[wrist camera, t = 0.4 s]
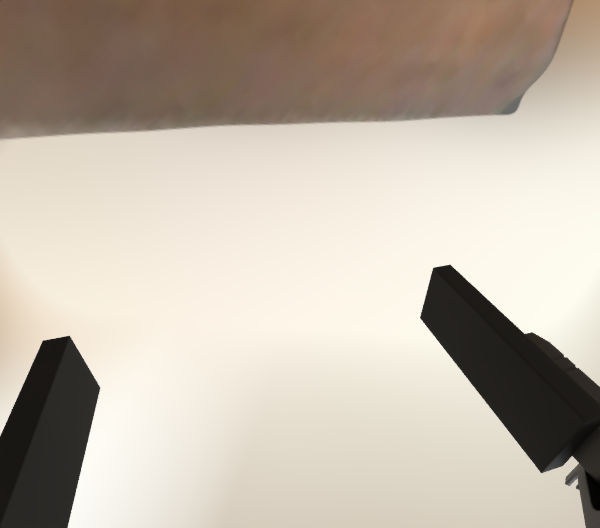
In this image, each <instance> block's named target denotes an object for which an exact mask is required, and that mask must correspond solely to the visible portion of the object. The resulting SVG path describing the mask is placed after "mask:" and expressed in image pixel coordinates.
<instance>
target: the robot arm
mask: <svg viewBox="0 0 600 528" xmlns="http://www.w3.org/2000/svg"><path fill="white" fill-rule="evenodd" d="M420 318H421V320H422V321H423V322H424V323H425V325H426V326H427V327H428V328H429V330H430V331H431V332H432V333H433V335H434V336H435V337H436V339H437V340H438V341H439V343H440V344H441V345H442V346H443V348H444V349H445V350H446V352H447V353H448V354H449V355H450V357H451V358H452V359H453V361H454V362H455V363H456V364H457V366H458V367H459V368H460V369H461V370H462V372H463V373H464V375H465V376H466V377H467V378H468V380H469V381H470V382H471V384H472V385H473V386H474V387H475V388H476V390H477V391H478V392H479V394H480V395H481V396H482V398H483V399H484V400H485V401H486V403H487V404H488V405H489V406H490V408H491V409H492V410H493V412H494V413H495V414H496V415H497V417H498V418H499V419H500V421H501V422H502V423H503V424H504V426H505V427H506V428H507V430H508V431H509V432H510V433H511V435H512V436H513V437H514V439H515V440H516V441H517V442H518V444H519V445H520V446H521V448H522V449H523V450H524V451H525V452H526V454H527V455H528V456H529V458H530V459H531V460H532V461H533V463H534V464H535V465H536V467H537V468H538V469H539V471H540V472H541V473H543V472H546V471H549V470H552V469H555V468H558V467H561V466H563V465H564V464H565V463H566V462H567V461H568V460H569V458H570V457H571V456H573V457H574V458H575V459H576V460H577V461H578V462H579V464H578V465H577V466H576V467H575V468H574V469H573V470H572V471H571V473H570V474H569V475H568V476H567V477H566V482H565V484H566V485H568V486H570V485H571V484H572V483H573V482H574V481H575V480H576V479H577V478H578V485H577V486H576V489H579V490H580V495H581V501H582V507H583V513H584V518H585V525H586V528H600V387H599V386H598V385H597V384H596V383H594V381H592V380H591V379H590V378H589V377H588V376H587V375H586V374H585V373H583V372H582V371H581V370H580V369H579V368H576V367H575V365H574V364H573V363H572V362H571V361H570V360H569V359H568V358H565V357H564V355H563V354H562V353H561V352H560V351H559V350H558V349H556V348H555V347H554V346H553V345H552V344H551V343H550V342H548V341H546V340H545V339H543V338H541V337H539V336H538V335H536V334H534V333H528V334H524V333H523V332H522V331H521V330H520V329H518V327H516V326H515V325H514V324H513V323H512V322H511V321H510V320H509V319H508V318H507V317H506V316H504V314H502V313H501V312H500V311H499V310H498V309H497V308H496V307H495V306H494V305H493V304H492V303H491V302H490V301H489V300H487V299H486V298H485V297H484V296H483V295H482V294H481V293H480V292H479V291H478V290H477V289H476V288H475V287H474V286H472V285H471V284H470V283H469V282H468V281H467V280H466V279H465V278H464V277H463V276H462V275H461V274H460V273H459V272H457V271H456V270H455V269H454V268H453V267H452V266H451V265H446V266H441V267H436V268H433V271H432V275H431V279H430V283H429V286H428V290H427V294H426V298H425V301H424V305H423V309H422V313H421V317H420ZM99 390H100V387H99V385H98V383H97V381H96V380H95V378H94V376H93V375H92V373H91V371H90V370H89V368H88V366H87V365H86V363H85V361H84V359H83V358H82V356H81V354H80V353H79V351H78V349H77V348H76V346H75V344H74V343H73V341H72V339H71V338H70V336H66V337H61V338H56V339H50V340H45V341H43V342H42V344H41V346H40V349H39V351H38V353H37V355H36V358H35V360H34V362H33V364H32V366H31V369H30V371H29V373H28V375H27V378H26V380H25V382H24V384H23V387H22V389H21V391H20V393H19V396H18V398H17V400H16V402H15V405H14V407H13V409H12V411H11V414H10V416H9V418H8V420H7V422H6V425H5V427H4V429H3V431H2V434H1V436H0V528H67V527H68V522H69V518H70V514H71V510H72V506H73V501H74V497H75V493H76V488H77V484H78V480H79V476H80V472H81V467H82V462H83V459H84V455H85V450H86V446H87V442H88V437H89V433H90V429H91V425H92V420H93V416H94V412H95V407H96V403H97V399H98V394H99Z"/></svg>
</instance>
